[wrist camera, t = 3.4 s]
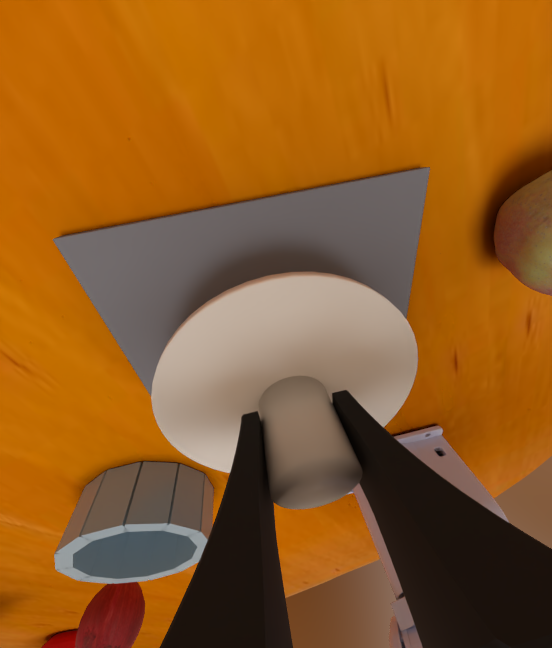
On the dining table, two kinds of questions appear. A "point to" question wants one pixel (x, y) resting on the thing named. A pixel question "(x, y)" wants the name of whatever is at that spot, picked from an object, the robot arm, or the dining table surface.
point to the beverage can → (62, 640)
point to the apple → (527, 234)
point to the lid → (285, 378)
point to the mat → (246, 254)
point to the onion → (112, 617)
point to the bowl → (137, 524)
